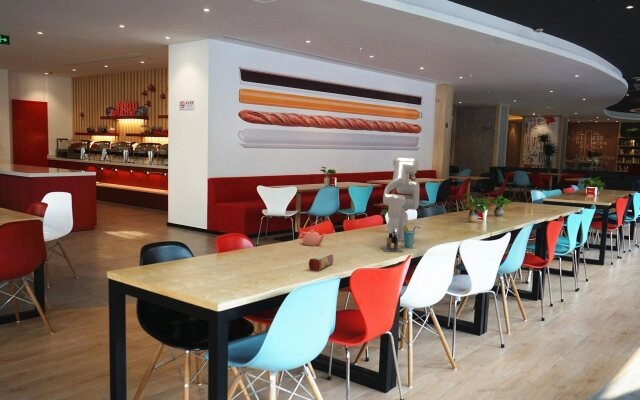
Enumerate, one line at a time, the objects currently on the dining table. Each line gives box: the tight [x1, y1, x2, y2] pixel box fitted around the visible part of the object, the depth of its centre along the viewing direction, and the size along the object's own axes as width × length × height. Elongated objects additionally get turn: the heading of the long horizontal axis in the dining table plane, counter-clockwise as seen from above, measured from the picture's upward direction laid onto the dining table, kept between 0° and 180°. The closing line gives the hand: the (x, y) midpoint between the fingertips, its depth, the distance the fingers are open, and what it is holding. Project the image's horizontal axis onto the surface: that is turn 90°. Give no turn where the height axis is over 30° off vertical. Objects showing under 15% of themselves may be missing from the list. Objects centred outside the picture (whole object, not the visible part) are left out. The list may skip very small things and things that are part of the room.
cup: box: [403, 225, 421, 249], centre depth 371 cm, size 14×8×15 cm, turn 50°
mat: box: [380, 246, 404, 253], centre depth 360 cm, size 12×12×1 cm
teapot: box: [300, 229, 326, 247], centre depth 365 cm, size 12×18×10 cm
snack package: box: [308, 252, 334, 272], centre depth 301 cm, size 21×7×7 cm, turn 158°
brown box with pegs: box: [386, 237, 399, 250], centre depth 359 cm, size 6×6×7 cm
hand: (392, 241), depth 359 cm, fingers open, 9 cm apart
